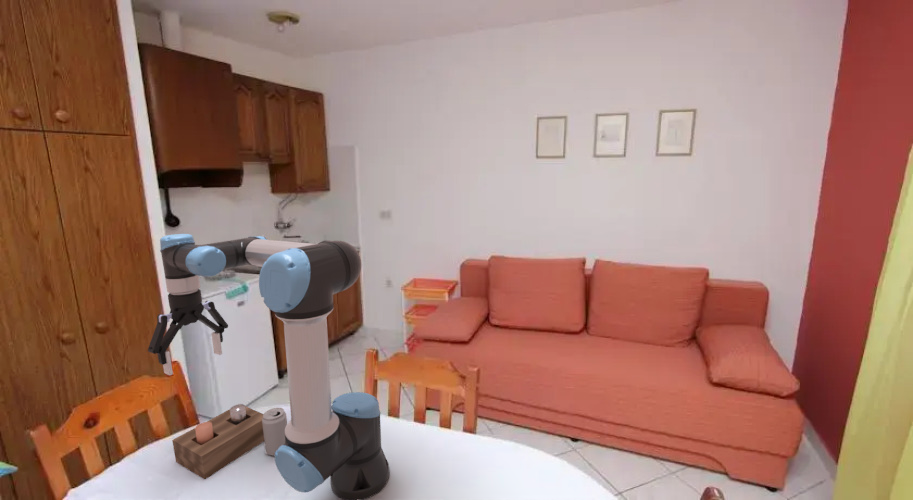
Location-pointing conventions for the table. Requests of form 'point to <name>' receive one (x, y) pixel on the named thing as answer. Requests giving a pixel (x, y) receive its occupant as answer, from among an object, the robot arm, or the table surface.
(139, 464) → the table surface
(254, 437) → the socket board
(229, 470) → the table surface
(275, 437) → the beverage can
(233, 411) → the grey plug
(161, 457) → the table surface
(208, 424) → the terracotta plug
